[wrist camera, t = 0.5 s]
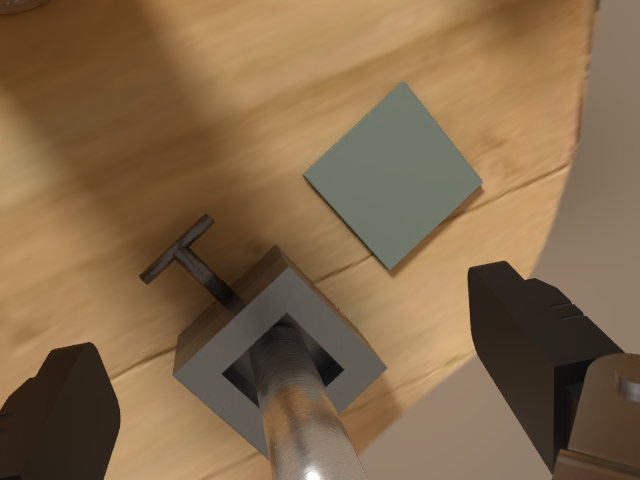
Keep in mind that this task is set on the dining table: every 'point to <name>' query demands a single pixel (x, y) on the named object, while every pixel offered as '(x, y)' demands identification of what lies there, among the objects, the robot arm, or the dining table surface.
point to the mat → (394, 176)
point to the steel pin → (299, 412)
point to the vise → (250, 324)
